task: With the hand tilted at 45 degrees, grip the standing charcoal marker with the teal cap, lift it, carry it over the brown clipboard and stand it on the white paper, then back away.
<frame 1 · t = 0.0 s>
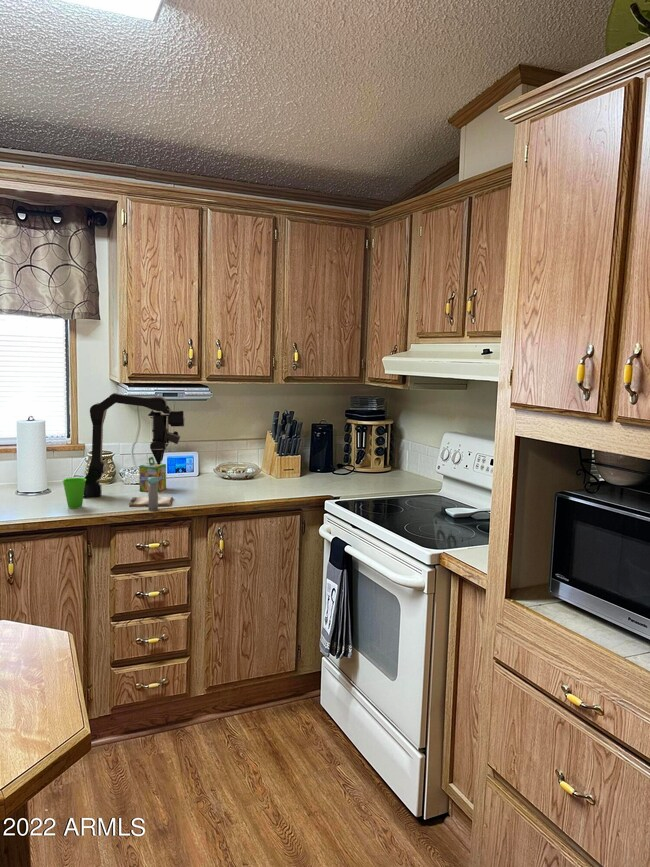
hand: (160, 462, 282), 15 cm above the kitchen counter, tool pointing down, fingers open, 9 cm apart
chalk box: (153, 490, 295), on the kitchen counter
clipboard: (151, 502, 272), on the kitchen counter
marker: (153, 509, 260), on the kitchen counter
cup: (75, 507, 262), on the kitchen counter
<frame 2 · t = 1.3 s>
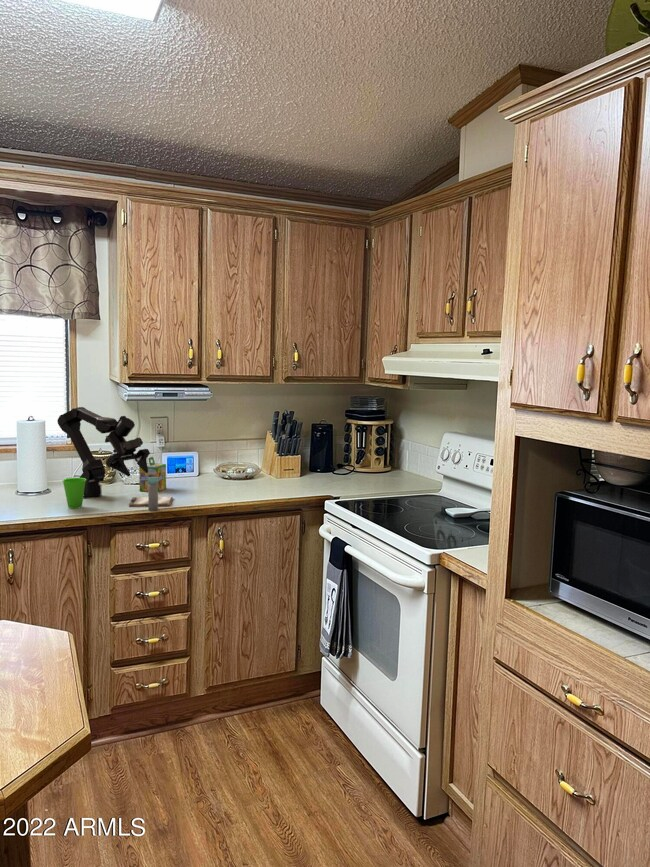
hand: (138, 474, 263), 13 cm above the kitchen counter, tool tilted 45°, fingers open, 9 cm apart
nothing on the kitchen counter moved.
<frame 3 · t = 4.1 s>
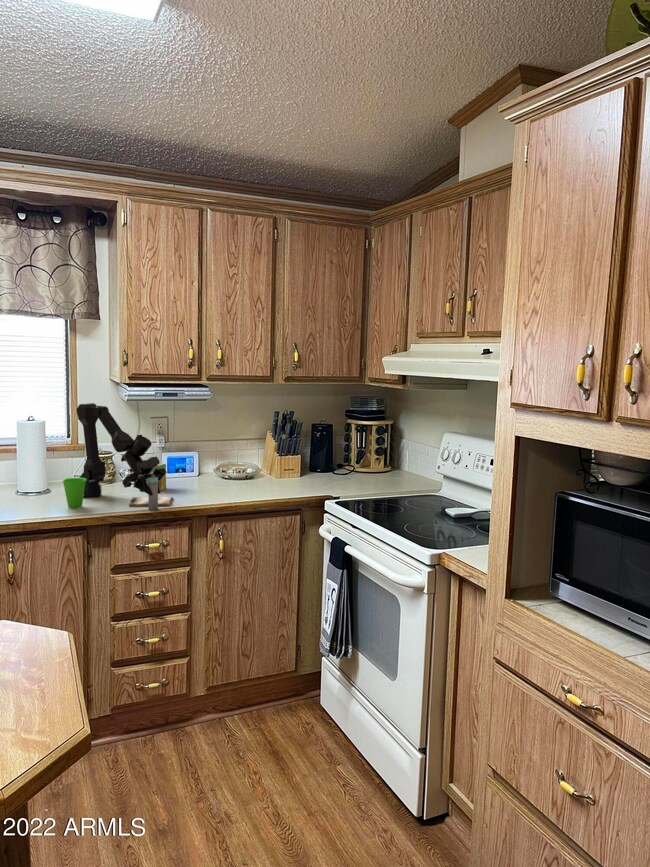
hand: (155, 494, 259), 7 cm above the kitchen counter, tool tilted 45°, fingers closed on marker, 4 cm apart
marker: (153, 509, 260), on the kitchen counter, touching gripper
everything else where it was.
when the fingers open (9 cm above the kitchen counter, at t = 7.4 s): marker drops 1 cm, resting on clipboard.
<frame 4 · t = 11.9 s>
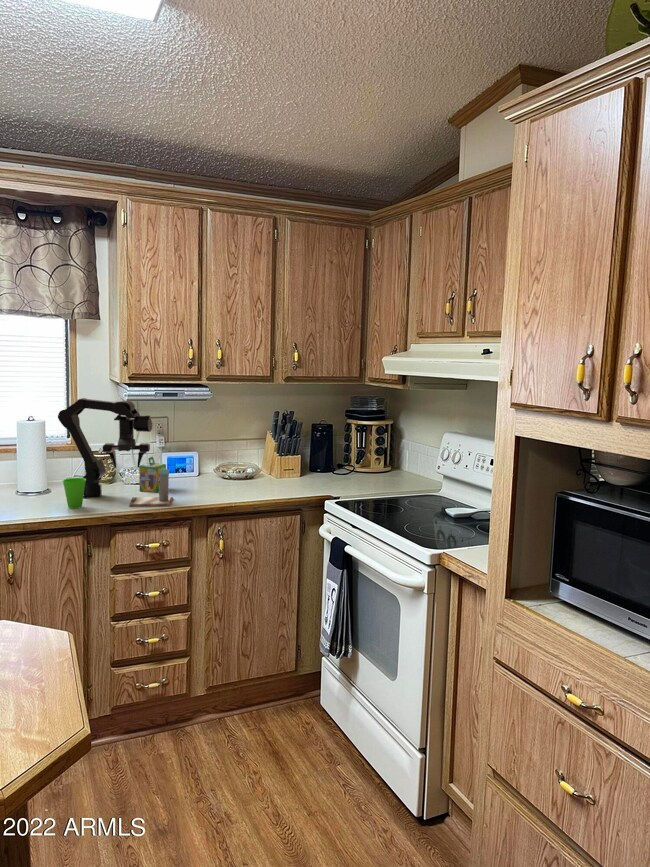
hand: (127, 467, 277), 13 cm above the kitchen counter, tool pointing down, fingers open, 9 cm apart
marker: (163, 500, 271), point 1 cm above the kitchen counter, touching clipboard
everything else where it was.
at the end: marker inside the target area on the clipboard (5.1 cm from its centre), point 1.1 cm above the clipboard's base; marker tilted 2°; the gripper is holding nothing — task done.
